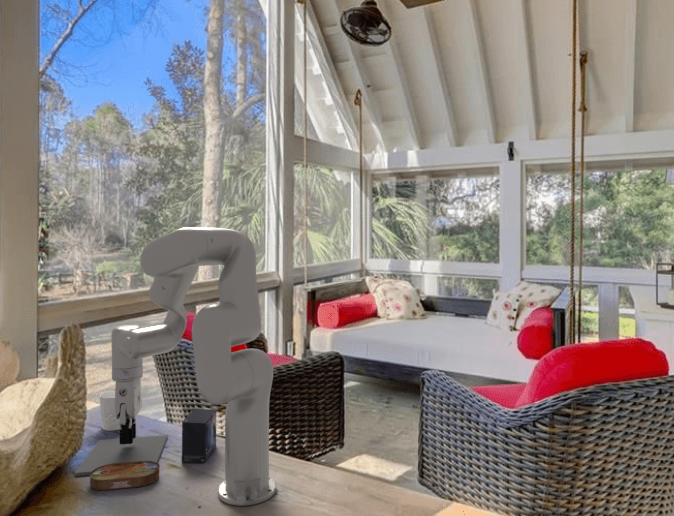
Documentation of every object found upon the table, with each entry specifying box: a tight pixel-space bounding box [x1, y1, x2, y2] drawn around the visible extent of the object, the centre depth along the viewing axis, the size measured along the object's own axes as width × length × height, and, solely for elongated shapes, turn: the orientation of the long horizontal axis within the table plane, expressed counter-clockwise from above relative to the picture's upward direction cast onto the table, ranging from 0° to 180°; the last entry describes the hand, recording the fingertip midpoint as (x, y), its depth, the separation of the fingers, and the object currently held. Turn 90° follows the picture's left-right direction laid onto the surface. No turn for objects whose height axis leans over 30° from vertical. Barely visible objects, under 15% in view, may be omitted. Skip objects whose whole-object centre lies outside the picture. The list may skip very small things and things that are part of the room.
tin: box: [89, 461, 161, 491], centre depth 113 cm, size 15×3×8 cm
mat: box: [74, 434, 169, 477], centre depth 127 cm, size 20×18×1 cm
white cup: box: [99, 389, 120, 432], centre depth 147 cm, size 8×8×10 cm
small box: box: [181, 408, 217, 464], centre depth 128 cm, size 11×6×10 cm, turn 179°
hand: (127, 440), depth 130 cm, fingers open, 2 cm apart
